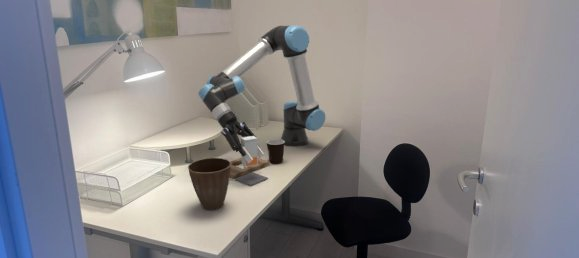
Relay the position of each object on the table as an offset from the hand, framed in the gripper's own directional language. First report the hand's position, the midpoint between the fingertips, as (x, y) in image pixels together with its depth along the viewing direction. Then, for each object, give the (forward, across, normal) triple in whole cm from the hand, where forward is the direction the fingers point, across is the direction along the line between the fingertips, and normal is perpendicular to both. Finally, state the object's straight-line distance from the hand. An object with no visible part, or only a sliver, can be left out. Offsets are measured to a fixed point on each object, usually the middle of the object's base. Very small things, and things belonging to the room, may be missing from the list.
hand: (256, 158), depth 159 cm
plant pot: (+7, +26, -8) cm, 29 cm away
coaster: (+5, 0, -10) cm, 11 cm away
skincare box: (0, 0, -5) cm, 5 cm away
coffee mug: (+2, -26, -12) cm, 28 cm away
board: (-3, -9, -18) cm, 20 cm away
